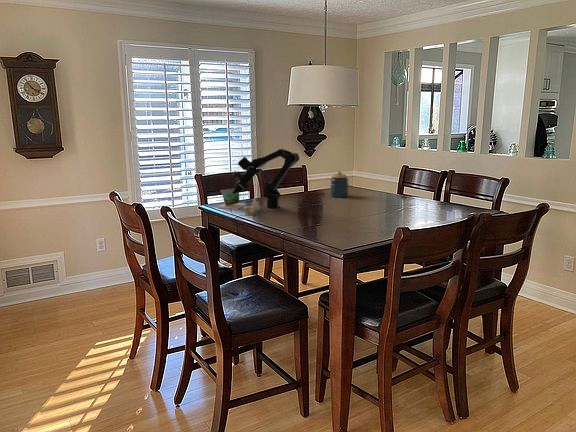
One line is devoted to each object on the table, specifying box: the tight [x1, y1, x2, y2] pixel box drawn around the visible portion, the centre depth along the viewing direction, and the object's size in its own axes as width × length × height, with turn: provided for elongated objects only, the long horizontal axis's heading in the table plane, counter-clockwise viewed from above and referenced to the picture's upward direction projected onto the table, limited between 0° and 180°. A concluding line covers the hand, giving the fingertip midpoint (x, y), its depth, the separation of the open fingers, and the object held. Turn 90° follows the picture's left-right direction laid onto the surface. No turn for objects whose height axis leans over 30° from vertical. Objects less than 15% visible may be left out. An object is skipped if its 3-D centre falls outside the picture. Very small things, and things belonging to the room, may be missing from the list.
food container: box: [220, 187, 240, 205], centre depth 296 cm, size 12×6×10 cm, turn 100°
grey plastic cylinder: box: [250, 201, 260, 213], centre depth 284 cm, size 5×5×5 cm
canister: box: [329, 171, 349, 198], centre depth 331 cm, size 13×13×18 cm
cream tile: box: [217, 202, 247, 210], centre depth 298 cm, size 13×14×1 cm
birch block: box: [244, 205, 256, 216], centre depth 273 cm, size 4×4×4 cm
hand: (232, 192), depth 296 cm, fingers closed on food container, 6 cm apart
